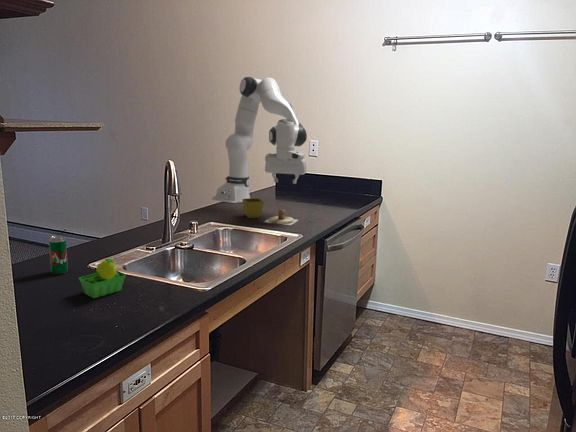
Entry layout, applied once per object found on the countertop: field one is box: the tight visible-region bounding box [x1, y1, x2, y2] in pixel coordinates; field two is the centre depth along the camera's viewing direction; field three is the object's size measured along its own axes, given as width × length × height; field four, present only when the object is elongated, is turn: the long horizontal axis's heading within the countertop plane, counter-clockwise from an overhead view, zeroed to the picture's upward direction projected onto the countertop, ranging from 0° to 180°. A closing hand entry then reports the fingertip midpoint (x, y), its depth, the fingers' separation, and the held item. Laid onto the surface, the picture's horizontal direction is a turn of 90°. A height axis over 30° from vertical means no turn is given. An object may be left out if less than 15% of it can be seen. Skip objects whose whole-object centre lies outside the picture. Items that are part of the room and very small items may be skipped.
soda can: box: [48, 235, 69, 276], centre depth 158 cm, size 5×5×12 cm
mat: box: [263, 218, 299, 226], centre depth 238 cm, size 14×12×1 cm
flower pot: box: [242, 197, 265, 219], centre depth 244 cm, size 9×9×9 cm
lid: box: [268, 208, 294, 225], centre depth 238 cm, size 12×12×6 cm
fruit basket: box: [78, 257, 126, 299], centre depth 144 cm, size 11×9×11 cm
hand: (285, 182), depth 236 cm, fingers open, 8 cm apart
